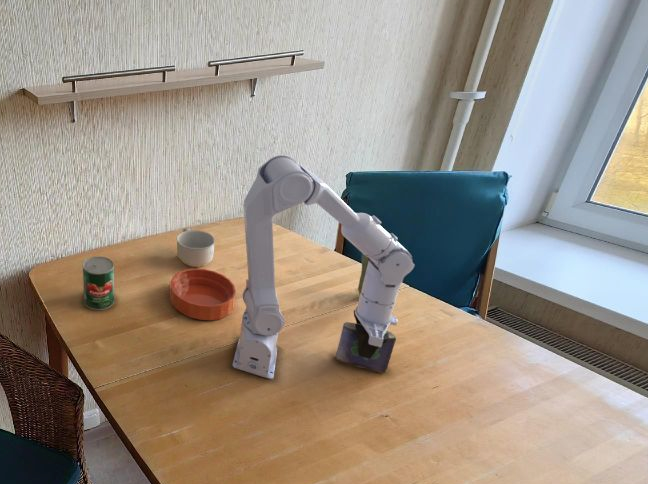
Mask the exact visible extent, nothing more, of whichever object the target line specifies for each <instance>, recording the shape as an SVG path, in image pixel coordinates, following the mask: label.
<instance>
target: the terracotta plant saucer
mask: <svg viewBox="0 0 648 484" xmlns="http://www.w3.org/2000/svg"><path fill="white" fill-rule="evenodd" d="M169 282H170V283H169V284H170V285H169V301H170V303H171V304H172V306H173V307H174V308H175V309H176V310H177V311H178V312H179V313H181V314H183V315H185V316H187V317H189V318H192V319H196V320H199V321H200V320H203V321H215V320H220V319H223V318H225V317H227V316H229V315H230V314H231V312H233V311H234V308H235V302H236V294H237V292H236V291H237V290H236V287H235V284H234V283H233V282H232V280H231V279H229V278H228V277H226V275H224V274H222V273H219V272H218V271H214V270H211V269H206V268H189V269H184V270H181V271H179V272H177V273H175V274H174V275H173V276H172V278H171V280H170V281H169Z"/></svg>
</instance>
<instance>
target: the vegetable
mask: <svg viewBox="0 0 648 484" xmlns="http://www.w3.org/2000/svg"><path fill="white" fill-rule="evenodd" d="M369 260H371V259H370V258H369V257H367V256H365V255H364V254H363V253H362V252H361V272H360V277H359V282H358V286H357V291H358V295H359V296H360V294H361V290H362V286H363V282H364V278H365V274H366V270H367V266H368V261H369Z"/></svg>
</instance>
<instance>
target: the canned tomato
mask: <svg viewBox="0 0 648 484" xmlns="http://www.w3.org/2000/svg"><path fill="white" fill-rule="evenodd" d="M81 266H82V282H83V283H82V284H83V302H84V306H86V307H87V308H88V309H90V310H93V311H105V310H108V309H110V308H111V307H113V305H114V304H115V267H114V266H115V264H114V261H113V260H111V259H110V258H108V257H106V256H92V257H88V258H87V259H85V260H83V262H82V265H81Z"/></svg>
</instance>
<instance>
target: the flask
mask: <svg viewBox="0 0 648 484" xmlns="http://www.w3.org/2000/svg"><path fill="white" fill-rule="evenodd" d="M355 324H357V323H355V322H348V321H347V322H344V323H343V325H342V329H341V334H340V338H339V343H338V345H337V350H336V354H335V358H336V360H337V361H339V362H340V363H343V364H345V365H352V366H354V367H356V368H360V369H361V368H364V369H367V370H371V371H373V372H376V373H380V374H384V373H387V370H388V367H389V364H390V360H391V357H392V353H393V350H394V347H395V343H396V341H397V338H396V335H395V334H394V333H393V332H392V331H389V330H387V331H386V333H388V334H389V340H388V342H386V343H384V344H382V346H381V347H379V348H378V349H377V350H376V352H375V353H374V355H373V356H372V357H371V358H370V359H369V358H365V357H362V356H359V353H358V336H357V333H356V329H355ZM359 325H362V324H359Z"/></svg>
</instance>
